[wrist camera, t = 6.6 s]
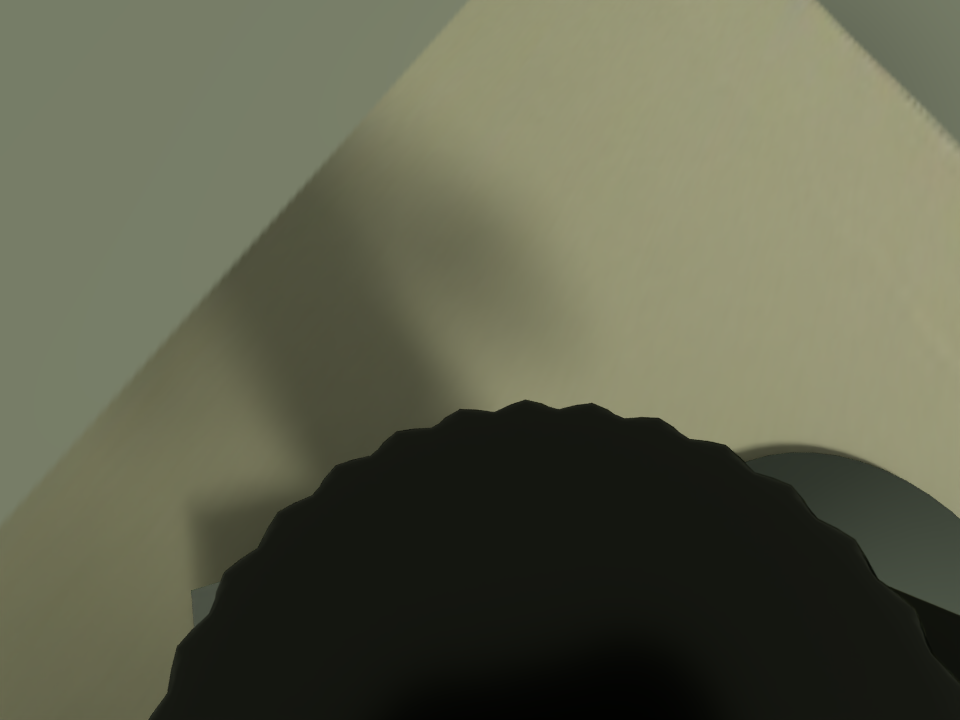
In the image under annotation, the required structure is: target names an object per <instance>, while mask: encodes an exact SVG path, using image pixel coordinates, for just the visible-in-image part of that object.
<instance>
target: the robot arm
mask: <svg viewBox="0 0 960 720" xmlns="http://www.w3.org/2000/svg"><path fill="white" fill-rule="evenodd" d="M889 587H890V586H889ZM890 588H892V589H893V590H894V591H896V592H897V593H898V594H899V595H901V596H902V597H903V598H904V599H905V600H906V601H908V602H909V603H910V604H911V605H912V606H913V607H915V608H916V610H917V613H918V615H919V617H920V620H921V622H922V624H923V627H924V629H925V633H926V637H927V640H928V642H929V644H930V647H931V649H932V651H933V654H934V655H935V656H936V657H937V658H938V659H939V660H940V661H941V662H942V663H943V664H944V665H945V666H946V667H947V668H948V669H949V670H950V671H951V672H952V673H953V674H954V675H955V677H956V678H957V679H958V680H959V681H960V615H958V614H956V613H953V612H951V611H949V610H946V609H944V608H941V607H939V606H936V605H934V604H932V603H929V602H927V601H924V600H922V599H919V598H917V597H914V596H912V595H910V594H907V593H905V592H902V591H900V590H897V589H895V588H893V587H890Z"/></svg>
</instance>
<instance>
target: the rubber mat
mask: <svg viewBox="0 0 960 720" xmlns="http://www.w3.org/2000/svg"><path fill="white" fill-rule="evenodd" d="M745 463H746V464H747V465H748V466H749V467H750V468H751V469H752V470H753V471H754V472H756V473H760V474H763V475H766V476H770V477H773V478H775V479H778V480H780V481H783V482H785V483H788V484H790V485H792V486H793V487H794V489H795V490H796V491H797V492H798V493H799V494H800V496H801V497H802V498H803V499H804V500H805V502H806V504H807V506H808V507H809V508H810V510H811V511H812V512H813V513H814V514H815V515H816V517H817V518H818V519H820V520H822V521H824V522H826V523H828V524H830V525H832V526H834V527H836V528H838V529H840V530H841V531H843V532H845V533H846V534H848V535H849V536H851V537H853V538H854V539H856V541H857V543H858V544H859V546H860V547H861V549H862V551H863V552H864V554H865V555H866V557H867V559H868V561H869V563H870V564H871V566H872V568H873V570H874V572H875V574H876V576H877V577H878V579H879V580H881V581H882V582H884V583H885V584H886V585H888V586H890V587H893V588H895V589H897V590H900V591H902V592H905V593H907V594H910V595H912V596H914V597H917V598H919V599H922V600H924V601H927V602H929V603H932V604H934V605H936V606H939V607H941V608H944V609H946V610H949V611H951V612H953V613H956V614H958V615H960V519H959V518H958V517H957V516H956V515H955V514H954V513H953V512H952V511H950V510H949V509H948V508H946V507H945V506H944V505H942V504H941V503H940V502H938V501H937V500H936V499H934V498H933V497H932V496H930V495H929V494H927V493H926V492H924V491H922V490H921V489H919V488H917V487H916V486H914V485H912V484H911V483H909V482H907V481H906V480H904V479H902V478H899V477H897V476H895V475H893V474H891V473H889V472H887V471H885V470H883V469H880V468H877V467H874V466H872V465H869V464H866V463H863V462H861V461H857V460H853V459H849V458H844V457H840V456H836V455H828V454H820V453H784V454H776V455H769V456H765V457H762V458H758V459H754V460H751V461H748V462H745Z"/></svg>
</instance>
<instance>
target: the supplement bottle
mask: <svg viewBox="0 0 960 720" xmlns="http://www.w3.org/2000/svg"><path fill="white" fill-rule="evenodd" d="M149 720H960V681H959V680H958V679H957V678H956V677H955V675H954V674H953V673H952V672H951V671H950V670H949V669H948V668H947V667H946V666H945V665H944V664H943V663H942V662H941V661H940V660H939V659H938V658H937V657H936V656H935V655H934V654H933V651H932V649H931V647H930V644H929V642H928V640H927V637H926V633H925V629H924V627H923V624H922V622H921V620H920V617H919V615H918V613H917V610H916V608H915V607H913V606H912V605H911V604H910V603H909V602H908V601H906V600H905V599H904V598H903V597H902V596H901V595H899V594H898V593H897V592H896V591H894V590H893V589H892V588H890V587H889V586H888V585H886V584H885V583H884V582H882V581H881V580H879V579H878V577H877V576H876V574H875V572H874V570H873V568H872V566H871V564H870V563H869V561H868V559H867V557H866V555H865V554H864V552H863V551H862V549H861V547H860V546H859V544H858V543H857V541H856V539H854V538H853V537H851V536H849V535H848V534H846V533H845V532H843V531H841V530H840V529H838V528H836V527H834V526H832V525H830V524H828V523H826V522H824V521H822V520H820V519H818V518H817V517H816V515H815V514H814V513H813V512H812V511H811V510H810V508H809V507H808V506H807V504H806V502H805V500H804V499H803V498H802V497H801V496H800V494H799V493H798V492H797V491H796V490H795V489H794V487H793V486H792V485H790V484H788V483H785V482H783V481H780V480H778V479H775V478H773V477H770V476H766V475H763V474H760V473H756V472H754V471H753V470H752V469H751V468H750V467H749V466H748V465H747V464H746V463H745V462H744V461H743V460H742V459H741V458H740V457H739V456H738V455H737V454H736V453H734V452H733V451H732V450H731V449H730V448H729V447H728V446H726V445H724V444H719V443H715V442H710V441H703V440H694V439H689V438H687V437H686V436H684V435H683V434H681V433H680V432H678V431H677V430H676V429H675V428H674V427H673V426H671V425H670V424H668V423H666V422H665V421H663V420H661V419H660V418H649V417H638V418H622V417H620V416H618V415H615V414H614V413H612V412H611V411H609V410H608V409H605V408H603V407H600V406H598V405H596V404H593V403H588V404H581V405H574V406H570V407H566V408H562V409H555V408H551V407H548V406H546V405H544V404H542V403H538V402H534V401H529V400H523V401H520V402H517V403H514V404H511V405H509V406H506V407H504V408H502V409H500V410H498V411H496V412H490V411H483V410H472V409H459V410H458V411H456V412H454V413H452V414H451V415H449V416H447V417H446V418H445V419H443V420H442V421H441V422H440V423H439V424H437V425H436V426H434V427H432V428H419V429H409V430H403V431H396V432H395V433H394V434H393V435H392V436H391V437H389V438H388V439H387V440H386V441H385V442H383V444H382V445H381V446H380V448H379V449H378V450H377V451H375V452H374V453H373V454H372V455H371V456H367V457H363V458H358V459H354V460H350V461H348V462H345V463H342V464H339V465H336V466H335V467H334V468H333V469H332V470H331V471H330V473H329V474H328V475H327V476H326V477H325V478H324V480H323V482H322V483H321V485H320V487H319V488H318V489H317V490H316V492H315V493H314V494H313V495H312V496H310V497H307V498H305V499H303V500H300V501H298V502H295V503H293V504H292V505H290V506H288V507H286V508H284V509H283V510H281V511H279V512H278V513H277V514H276V516H275V517H274V519H273V521H272V522H271V524H270V526H269V527H268V529H267V531H266V533H265V535H264V537H263V539H262V541H261V542H260V544H259V546H258V548H257V549H255V550H254V551H252V552H251V553H249V554H248V555H246V556H245V557H243V558H242V559H240V560H239V561H238V562H236V563H235V564H234V565H233V566H231V567H230V568H229V569H228V570H226V571H225V572H224V574H223V577H222V579H221V581H220V584H219V586H218V588H217V591H216V595H215V600H214V602H213V605H212V607H211V610H210V612H209V614H208V615H207V616H206V617H205V618H204V619H203V620H202V621H201V622H200V623H198V624H197V625H196V626H195V627H194V628H193V629H192V630H191V631H190V632H189V634H188V635H187V636H186V637H185V638H184V639H183V640H182V642H181V643H180V644H179V645H178V646H177V648H176V652H175V656H174V661H173V665H172V669H171V674H170V680H169V686H168V692H167V694H166V696H165V697H164V698H163V700H162V701H161V703H160V704H159V705H158V707H157V708H156V709H155V711H154V712H153V713H152V715H151V716H150V718H149Z"/></svg>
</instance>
